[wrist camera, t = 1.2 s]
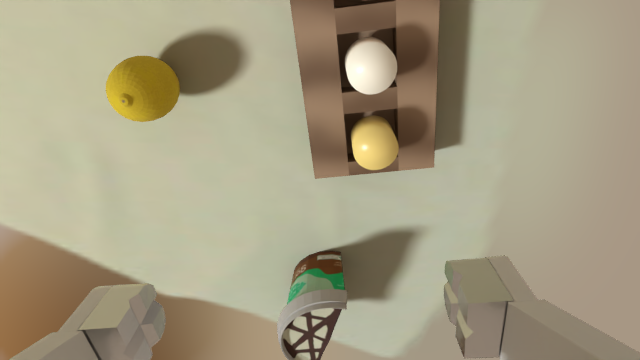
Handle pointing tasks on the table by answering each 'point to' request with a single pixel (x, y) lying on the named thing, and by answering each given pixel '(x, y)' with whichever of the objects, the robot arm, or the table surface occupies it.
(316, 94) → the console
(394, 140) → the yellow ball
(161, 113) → the lemon
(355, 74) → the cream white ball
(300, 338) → the food container
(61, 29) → the table surface
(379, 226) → the table surface
